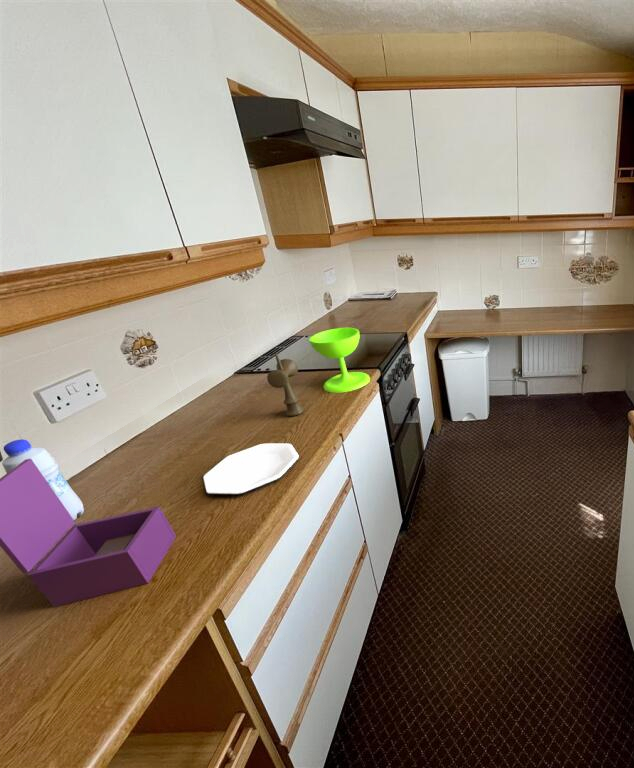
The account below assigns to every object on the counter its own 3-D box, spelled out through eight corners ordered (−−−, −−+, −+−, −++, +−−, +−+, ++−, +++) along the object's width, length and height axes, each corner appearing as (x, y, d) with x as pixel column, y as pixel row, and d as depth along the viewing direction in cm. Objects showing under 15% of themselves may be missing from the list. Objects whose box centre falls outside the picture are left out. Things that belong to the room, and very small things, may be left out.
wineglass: (355, 393, 137) (343, 343, 129) (313, 392, 140) (298, 343, 132) (378, 373, 151) (367, 327, 143) (339, 373, 154) (327, 327, 146)
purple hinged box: (176, 536, 82) (159, 506, 78) (148, 583, 72) (127, 551, 68) (95, 554, 79) (74, 524, 75) (54, 607, 68) (27, 575, 65)
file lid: (31, 458, 69) (25, 459, 69) (-29, 503, 59) (-36, 504, 59) (75, 522, 75) (70, 523, 75) (29, 572, 65) (22, 573, 65)
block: (133, 569, 74) (122, 552, 72) (104, 577, 73) (91, 559, 71) (146, 551, 78) (135, 533, 76) (118, 557, 76) (106, 540, 75)
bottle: (38, 527, 87) (-21, 449, 78) (76, 505, 92) (25, 430, 84) (58, 532, 85) (0, 453, 76) (96, 510, 90) (45, 434, 82)
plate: (202, 470, 102) (200, 465, 101) (287, 439, 113) (285, 434, 112) (212, 511, 88) (209, 505, 87) (307, 471, 99) (305, 466, 98)
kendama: (310, 404, 131) (292, 346, 123) (301, 419, 123) (281, 358, 114) (290, 407, 130) (271, 349, 122) (280, 422, 122) (258, 360, 113)
